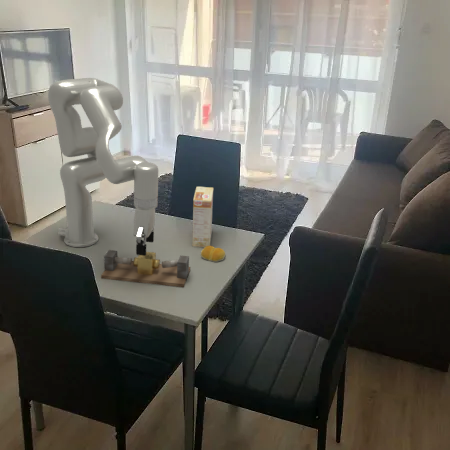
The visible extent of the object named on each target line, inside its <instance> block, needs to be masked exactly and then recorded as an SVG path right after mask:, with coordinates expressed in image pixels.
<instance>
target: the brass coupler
mask: <svg viewBox="0 0 450 450" xmlns="http://www.w3.org/2000/svg"><path fill="white" fill-rule="evenodd" d="M156 254H157V253H156V252H151V251H146V255H145V256H142V255H137V256H135V257H134V259H133V261H134V262H133V265H134V267H138V274H146V275H153V273H154V271H155V269H159V267H160V264H161V260H160V259H158V258H157V255H156ZM156 258H157V259H156Z"/></svg>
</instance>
